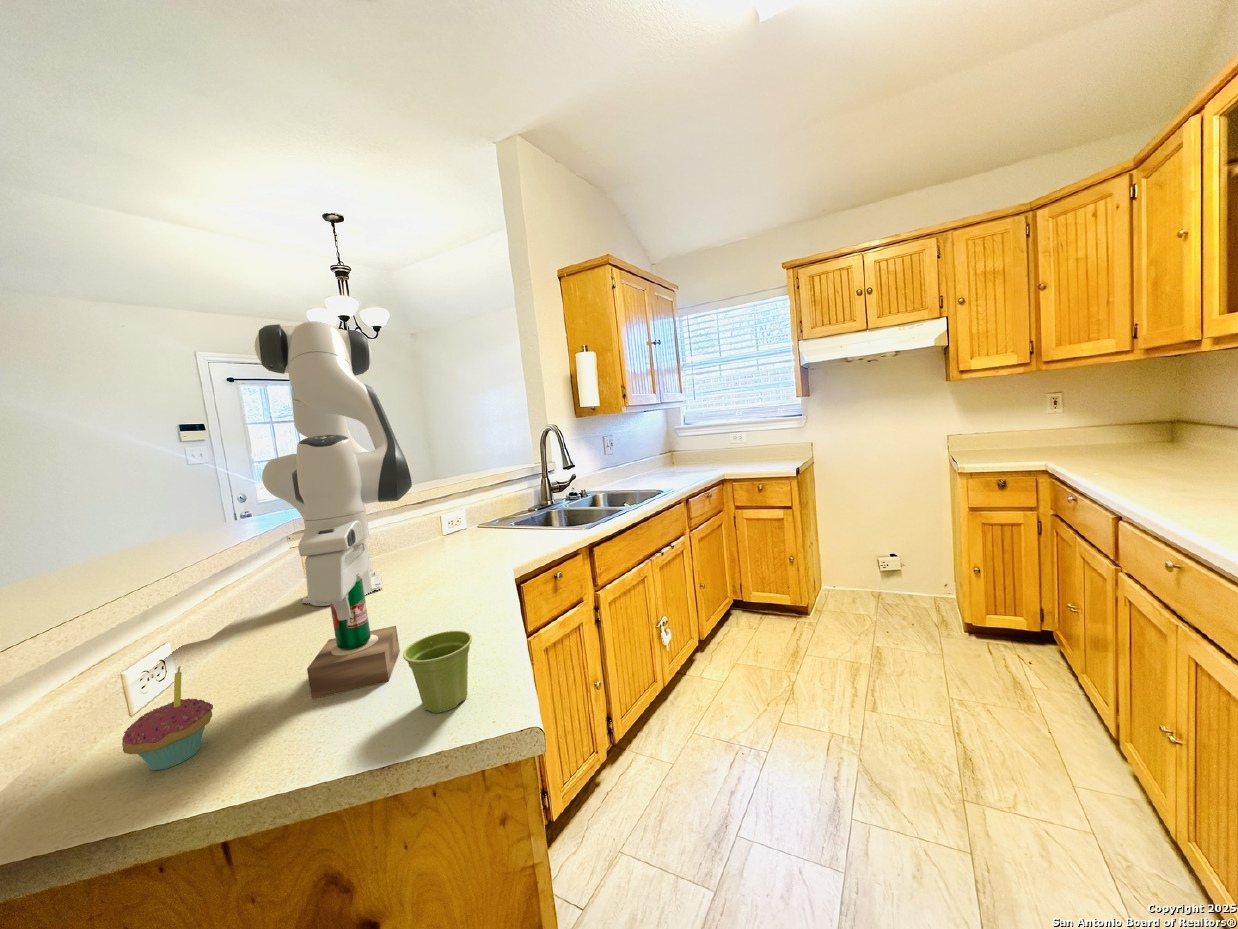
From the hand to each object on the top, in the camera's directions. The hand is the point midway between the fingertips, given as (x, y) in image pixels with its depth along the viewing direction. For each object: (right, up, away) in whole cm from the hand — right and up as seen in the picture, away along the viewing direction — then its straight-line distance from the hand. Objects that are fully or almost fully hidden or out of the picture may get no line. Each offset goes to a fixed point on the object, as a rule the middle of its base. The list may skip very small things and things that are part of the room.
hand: (350, 611), depth 77 cm
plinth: (+1, -11, +1) cm, 11 cm away
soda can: (0, -6, +1) cm, 6 cm away
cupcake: (-13, -14, -17) cm, 26 cm away
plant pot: (+20, -10, -10) cm, 25 cm away
